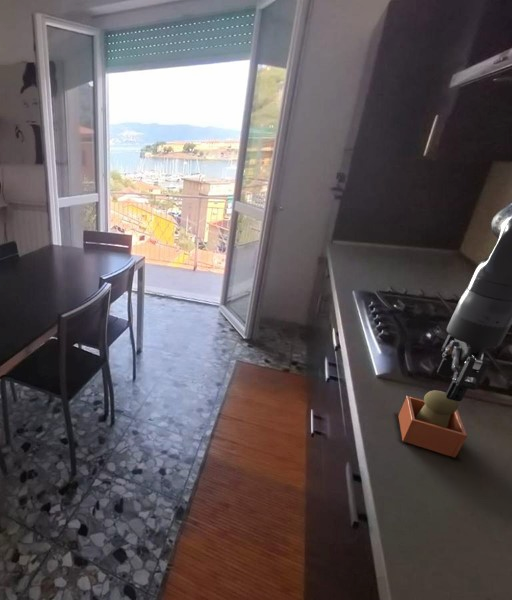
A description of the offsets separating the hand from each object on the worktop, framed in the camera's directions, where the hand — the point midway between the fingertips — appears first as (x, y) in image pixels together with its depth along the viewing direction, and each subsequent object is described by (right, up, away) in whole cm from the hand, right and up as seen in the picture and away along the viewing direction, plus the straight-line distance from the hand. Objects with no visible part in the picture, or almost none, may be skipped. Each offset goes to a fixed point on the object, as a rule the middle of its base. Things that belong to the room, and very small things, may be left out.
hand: (447, 386), depth 71 cm
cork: (0, -12, +6) cm, 14 cm away
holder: (0, -12, +6) cm, 13 cm away
